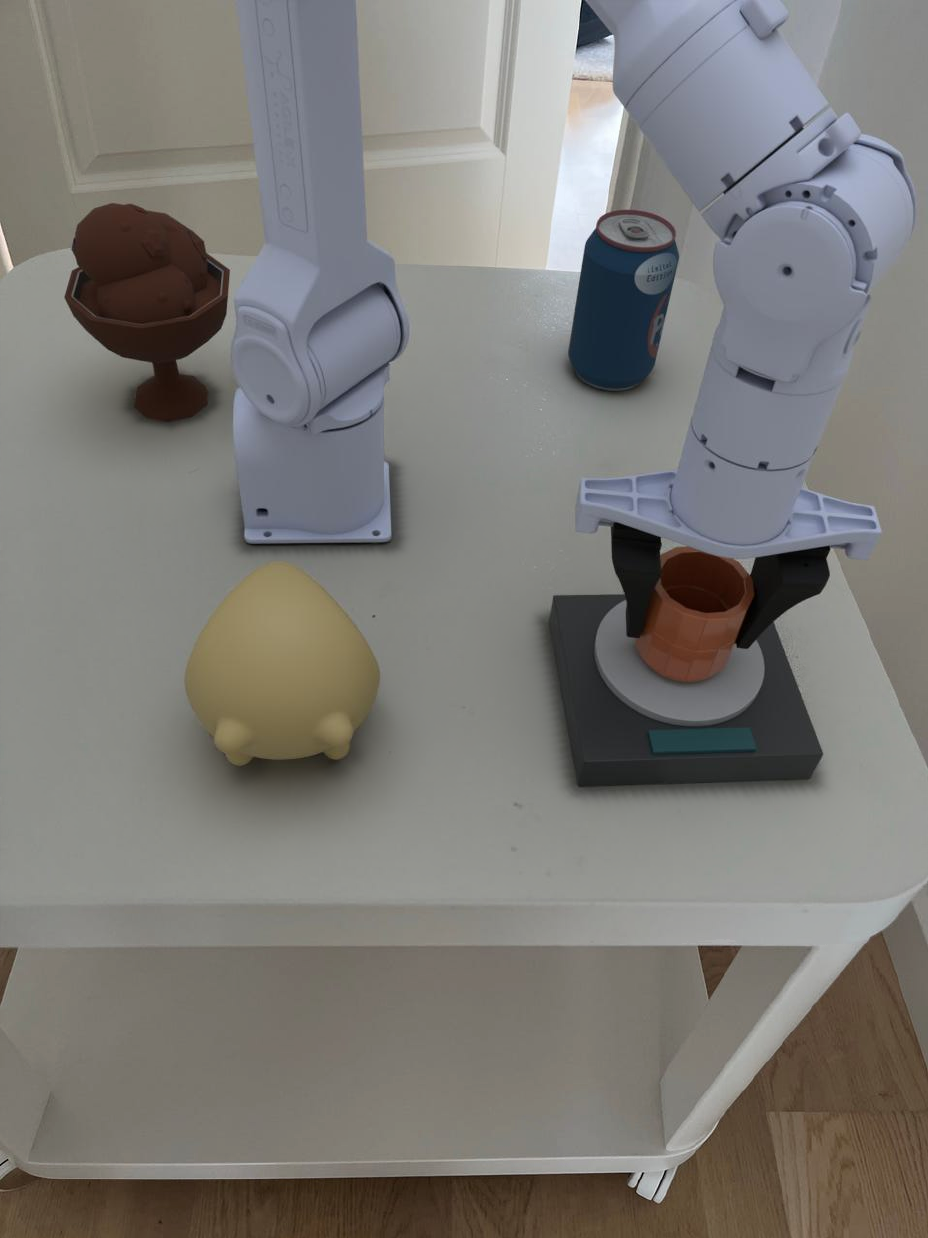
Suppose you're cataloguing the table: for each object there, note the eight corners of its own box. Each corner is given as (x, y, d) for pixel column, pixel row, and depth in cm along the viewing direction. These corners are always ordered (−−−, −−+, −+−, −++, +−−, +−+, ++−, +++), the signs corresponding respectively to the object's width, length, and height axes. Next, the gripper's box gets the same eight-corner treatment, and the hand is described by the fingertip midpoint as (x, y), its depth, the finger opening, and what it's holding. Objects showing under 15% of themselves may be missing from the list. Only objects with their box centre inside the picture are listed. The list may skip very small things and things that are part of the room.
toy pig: (374, 748, 59) (372, 567, 59) (387, 779, 47) (383, 553, 47) (204, 753, 58) (201, 569, 58) (172, 787, 46) (169, 555, 46)
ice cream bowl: (217, 454, 71) (185, 255, 60) (68, 428, 72) (10, 228, 61) (266, 371, 78) (246, 179, 67) (130, 348, 79) (88, 156, 68)
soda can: (662, 394, 79) (697, 250, 70) (576, 397, 78) (601, 252, 69) (638, 344, 84) (668, 204, 75) (557, 347, 83) (578, 205, 74)
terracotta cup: (634, 681, 55) (653, 614, 51) (631, 607, 59) (649, 540, 55) (732, 690, 55) (759, 624, 51) (723, 616, 58) (748, 550, 55)
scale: (577, 787, 54) (585, 755, 52) (548, 621, 62) (554, 587, 60) (810, 779, 55) (828, 748, 53) (752, 617, 63) (765, 584, 61)
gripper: (895, 394, 48) (807, 590, 58) (593, 365, 48) (558, 566, 58) (929, 490, 43) (827, 685, 53) (594, 457, 43) (555, 658, 54)
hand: (687, 629), depth 55 cm, fingers closed on terracotta cup, 5 cm apart
